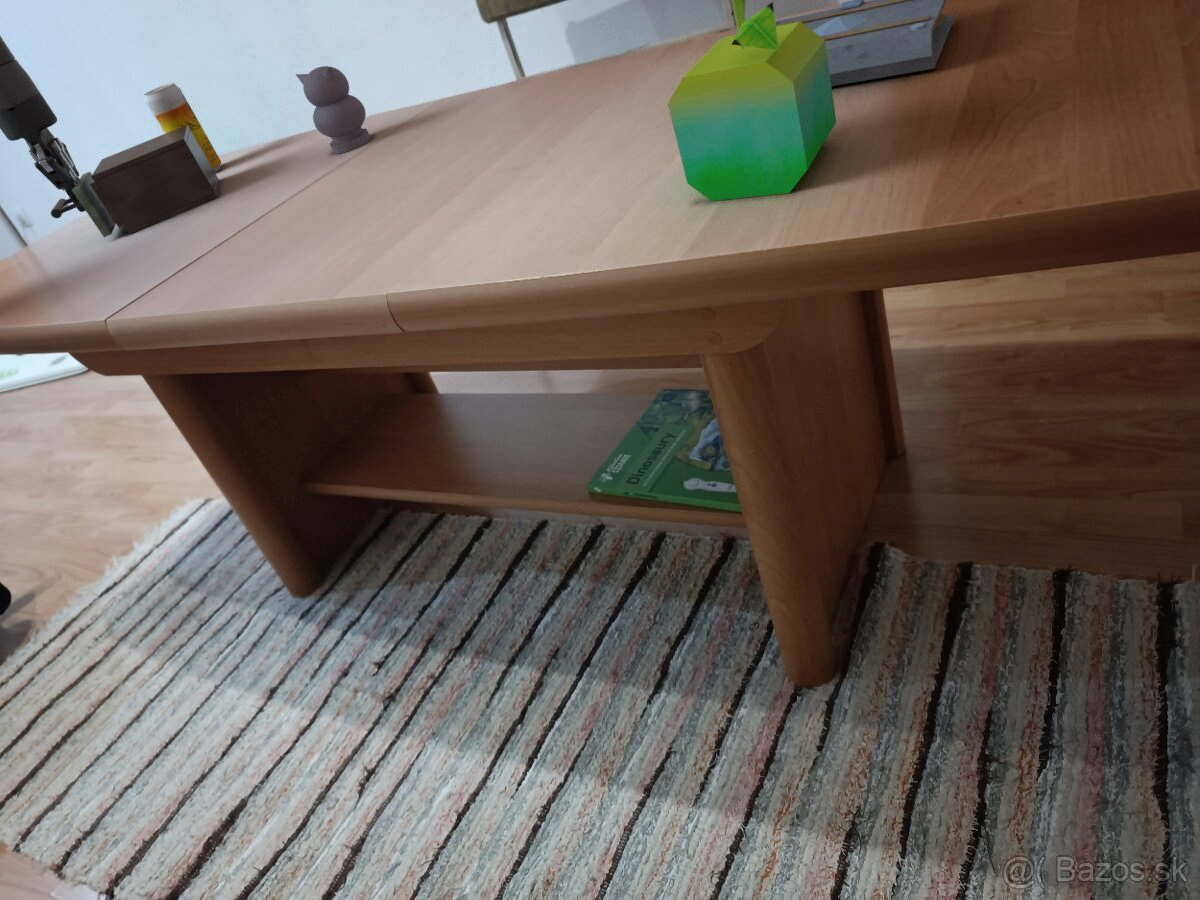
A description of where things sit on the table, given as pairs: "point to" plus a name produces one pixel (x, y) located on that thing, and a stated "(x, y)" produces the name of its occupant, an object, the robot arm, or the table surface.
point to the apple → (754, 109)
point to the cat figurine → (335, 108)
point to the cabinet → (156, 179)
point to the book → (879, 37)
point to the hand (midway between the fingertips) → (87, 209)
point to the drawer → (90, 205)
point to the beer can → (179, 117)
